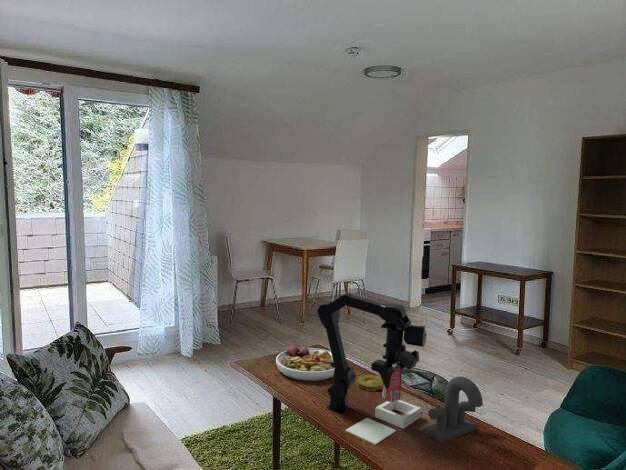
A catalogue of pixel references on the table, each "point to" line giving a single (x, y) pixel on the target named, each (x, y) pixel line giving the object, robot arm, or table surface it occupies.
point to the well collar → (401, 421)
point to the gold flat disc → (370, 382)
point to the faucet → (455, 410)
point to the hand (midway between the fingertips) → (391, 385)
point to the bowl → (306, 363)
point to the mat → (370, 431)
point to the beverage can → (393, 386)
